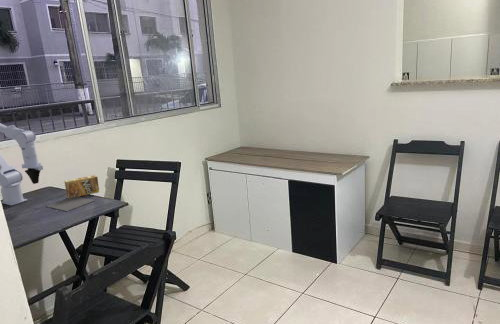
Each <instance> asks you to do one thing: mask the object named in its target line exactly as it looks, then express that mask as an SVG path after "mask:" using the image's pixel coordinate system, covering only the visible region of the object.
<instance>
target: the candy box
mask: <svg viewBox="0 0 500 324" xmlns="http://www.w3.org/2000/svg"><path fill="white" fill-rule="evenodd" d="M64 188H65V194H66V199H68V198H74V197H83V196H89V195H93V194H98V193H100V187H99V179H98V175H96V174H95V175H89V176H83V177H77V178H71V179H66V180H64Z"/></svg>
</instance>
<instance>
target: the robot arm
mask: <svg viewBox="0 0 500 324" xmlns="http://www.w3.org/2000/svg"><path fill="white" fill-rule="evenodd" d="M0 133H1V134H4V136H5V137H6V138H9V139H12V140H14V141H16V143H17V144H18V146H19V148H20V150H21V155H22V158H23V159H22V160H23V163H22V164H21V168H22V169H26V170H24V172H25V174H26V175H27V176H28V177H29V179H30V181H31V183H32V184H33V185H35V184H36V185H37V184H39V181H40V180H39V179H40V173H41V172H42V170H44V166H43V165H42V163H41V162H39V161H38V160H39V159H38V155H37V151H36V146H35V142H36V139H37V137H36V136H37V135H36V133H35V132H34V131H32V130H30V129H28V130H24V129H23V128H18V127H16V125H14V124H12V125H5V124H3V123H1V122H0ZM23 177H24V176H23V173H22V172H21V171H20V170H18V169H17V167H16V166H13V165H10V164H9V163H8V162H7V160H6V159H5V158H4V156H3V154H2V153H1V152H0V187H1V188H0V192H1V193H0V194H1V196H2V197H1V198H2V201H1V202H2V203H1V204H4V205H9V206H14V205H18V204H21V203H23V202H26V201H28V198H24V196H23V195H24V194H23V191H22V186H21V184H22V181H23V179H24V178H23Z"/></svg>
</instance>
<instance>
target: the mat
mask: <svg viewBox="0 0 500 324" xmlns="http://www.w3.org/2000/svg"><path fill="white" fill-rule="evenodd" d="M93 202H96V200H94V199H89V198H85V197H81V196H79V197H74V198H65V199H62V200H59V201H56V202H53V203H51V204H48V205H46V208H51V209H55V210H58V211H63V212H70V211H72V210H74V209H77V208H80V207H83V206H85V205H88V204H91V203H93Z"/></svg>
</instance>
